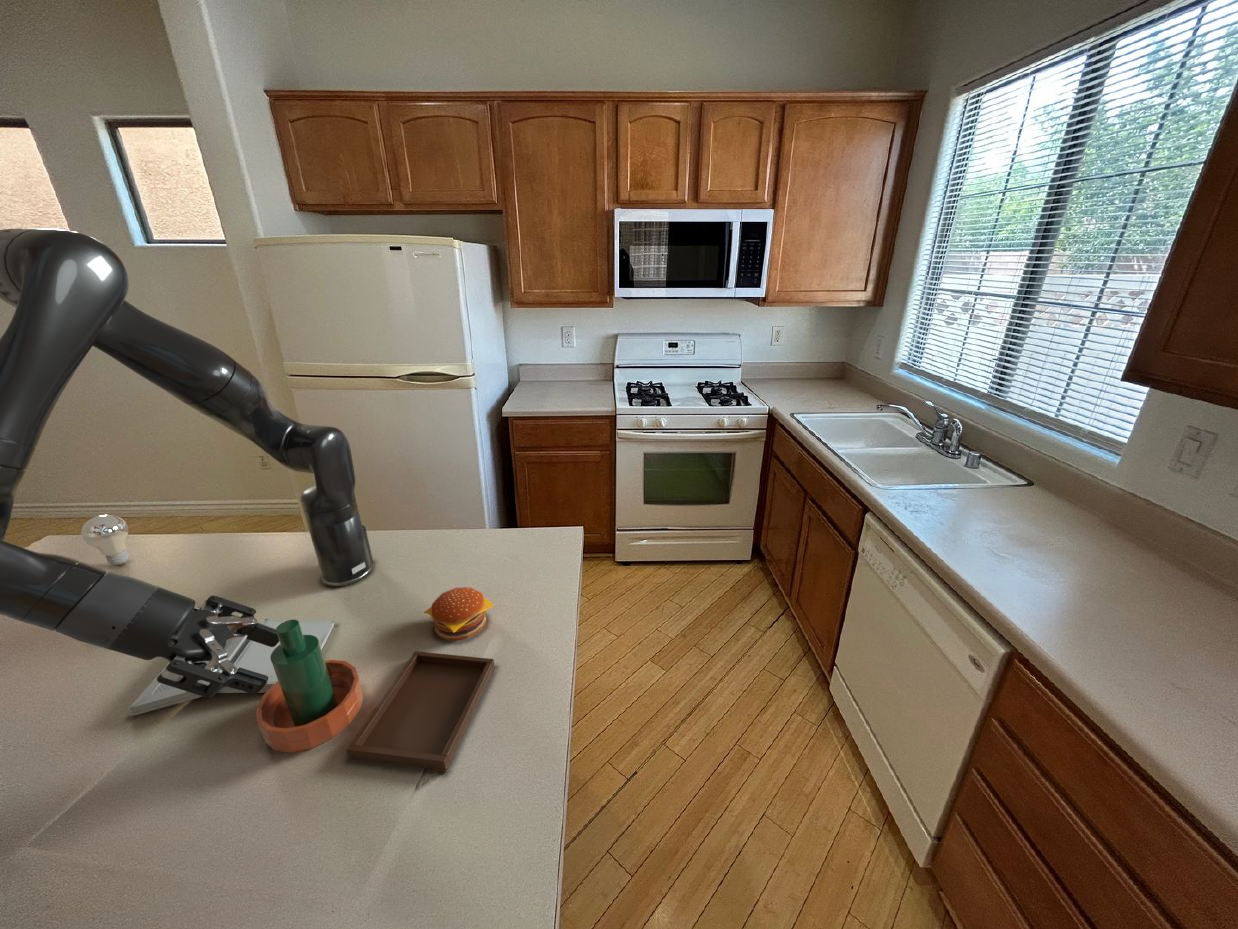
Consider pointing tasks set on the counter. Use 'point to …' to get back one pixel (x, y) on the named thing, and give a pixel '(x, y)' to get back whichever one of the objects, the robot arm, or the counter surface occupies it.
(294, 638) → the bottle
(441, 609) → the hamburger
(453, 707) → the tray
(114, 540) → the light bulb
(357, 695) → the bowl
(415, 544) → the counter surface
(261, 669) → the gadget
